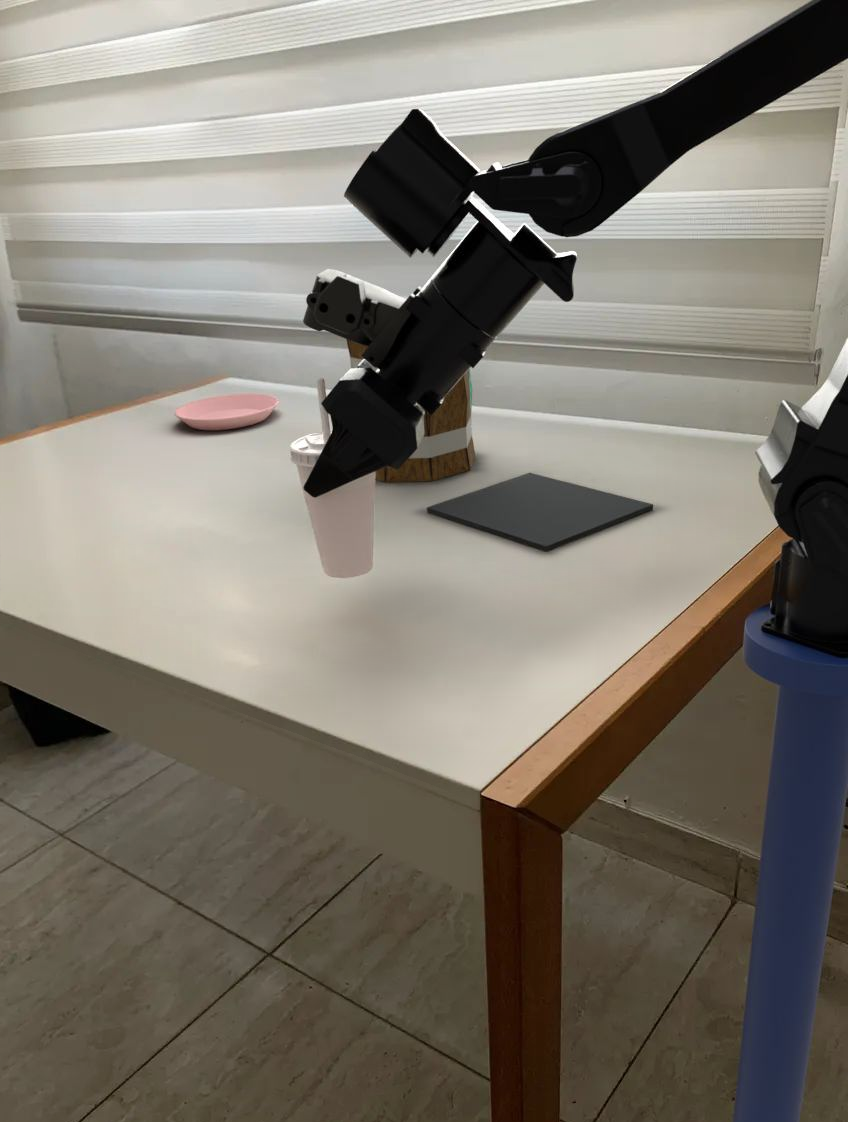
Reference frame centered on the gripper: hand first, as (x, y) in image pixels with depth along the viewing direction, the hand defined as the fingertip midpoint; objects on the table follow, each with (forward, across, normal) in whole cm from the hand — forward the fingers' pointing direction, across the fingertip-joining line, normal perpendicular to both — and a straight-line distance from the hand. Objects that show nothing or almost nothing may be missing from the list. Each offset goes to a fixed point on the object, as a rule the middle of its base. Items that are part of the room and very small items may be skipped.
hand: (319, 478), depth 73 cm
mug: (+9, -44, +8) cm, 45 cm away
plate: (+29, -64, -13) cm, 72 cm away
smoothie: (+4, 0, +6) cm, 7 cm away
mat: (-2, -25, +18) cm, 31 cm away
